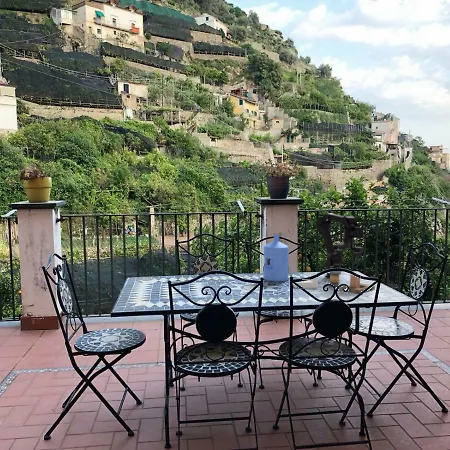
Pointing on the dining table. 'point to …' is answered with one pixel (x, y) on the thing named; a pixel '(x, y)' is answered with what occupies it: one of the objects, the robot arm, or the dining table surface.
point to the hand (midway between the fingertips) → (347, 262)
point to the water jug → (276, 261)
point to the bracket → (309, 283)
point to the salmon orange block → (354, 281)
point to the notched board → (357, 290)
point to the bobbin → (334, 278)
